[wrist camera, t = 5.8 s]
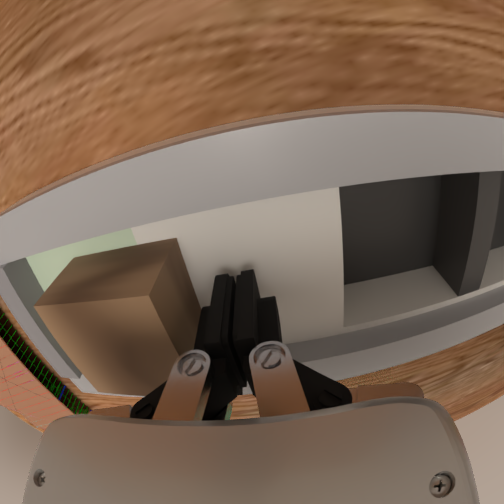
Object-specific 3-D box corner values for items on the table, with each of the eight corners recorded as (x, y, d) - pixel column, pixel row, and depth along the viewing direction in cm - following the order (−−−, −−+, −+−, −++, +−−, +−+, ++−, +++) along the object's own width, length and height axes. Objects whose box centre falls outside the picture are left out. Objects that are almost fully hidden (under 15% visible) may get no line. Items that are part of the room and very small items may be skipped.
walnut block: (176, 237, 12) (148, 295, 8) (211, 335, 15) (202, 396, 11) (73, 257, 12) (33, 306, 9) (119, 340, 15) (98, 391, 12)
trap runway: (529, 117, 11) (583, 137, 6) (509, 267, 18) (545, 305, 13) (26, 196, 15) (-30, 235, 9) (103, 343, 21) (80, 397, 16)
